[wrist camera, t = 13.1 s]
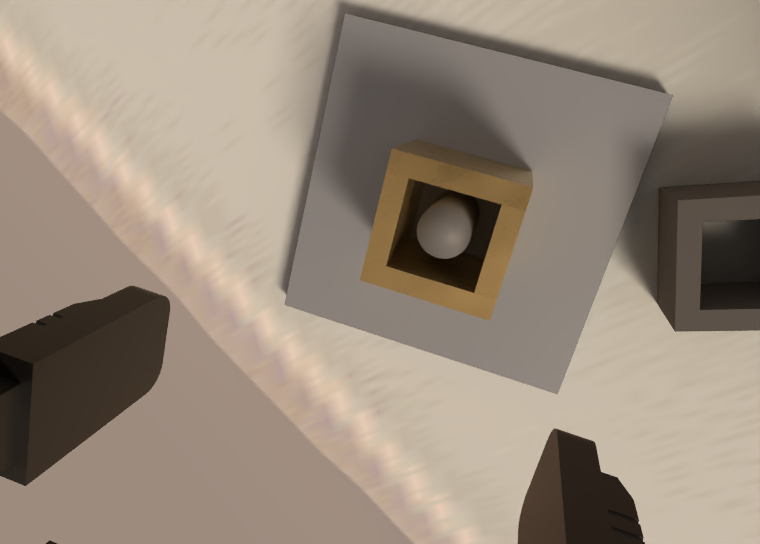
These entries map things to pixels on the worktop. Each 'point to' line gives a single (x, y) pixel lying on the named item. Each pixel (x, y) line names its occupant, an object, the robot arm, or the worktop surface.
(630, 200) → the post block
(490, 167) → the brass collar
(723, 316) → the grey hollow square block
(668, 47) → the worktop surface
